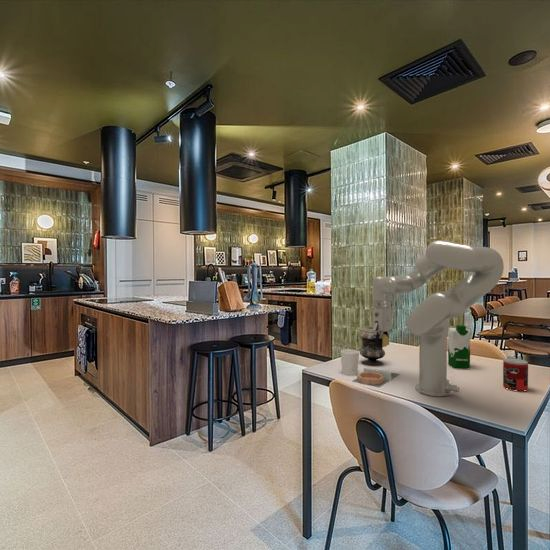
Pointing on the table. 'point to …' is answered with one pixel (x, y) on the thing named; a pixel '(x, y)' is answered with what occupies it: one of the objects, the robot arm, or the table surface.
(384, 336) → the ball
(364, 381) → the saucer
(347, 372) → the white cup
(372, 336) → the apothecary jar
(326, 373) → the table surface
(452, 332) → the milk carton
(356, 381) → the mat
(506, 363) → the canned food
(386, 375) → the white thin block
